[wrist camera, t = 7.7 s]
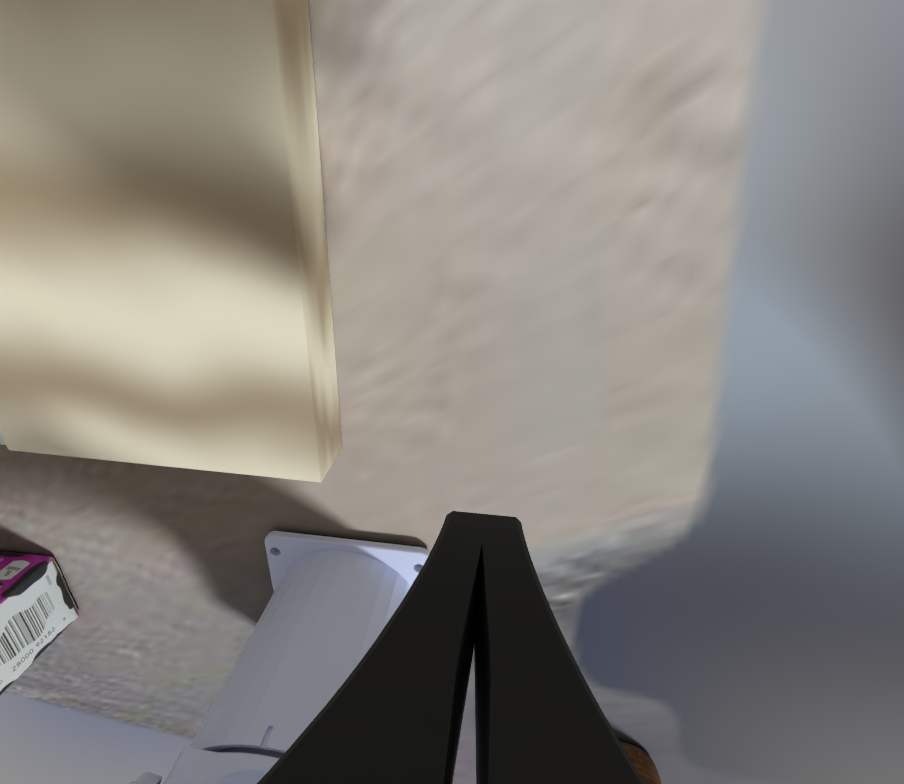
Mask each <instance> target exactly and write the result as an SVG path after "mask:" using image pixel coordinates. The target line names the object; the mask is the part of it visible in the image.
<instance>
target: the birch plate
mask: <svg viewBox="0 0 904 784" xmlns="http://www.w3.org/2000/svg"><path fill="white" fill-rule="evenodd" d="M0 433H1V435H2V437H3V439H4V441H5V444H6V446H7V448H8V450H12V451H21V452H31V453H41V454H51V455H60V456H70V457H80V458H89V459H99V460H109V461H119V462H128V463H138V464H148V465H157V466H167V467H177V468H187V469H196V470H206V471H216V472H226V473H235V474H245V475H255V476H264V477H274V478H284V479H294V480H303V481H313V482H322V480H323V478H324V477H325V475H326V473H327V472H328V470H329V468H330V467H331V465H332V463H333V461H334V460H335V458H336V456H337V455H338V453H339V451H340V450H341V448H342V438H341V425H340V412H339V399H338V385H337V372H336V359H335V346H334V333H333V319H332V306H331V293H330V280H329V267H328V253H327V240H326V227H325V214H324V201H323V187H322V174H321V161H320V148H319V135H318V121H317V108H316V95H315V82H314V69H313V55H312V42H311V29H310V16H309V3H308V0H0Z"/></svg>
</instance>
